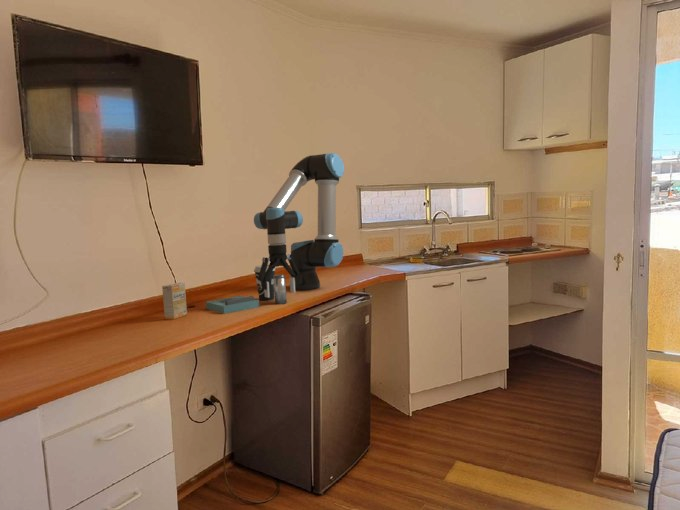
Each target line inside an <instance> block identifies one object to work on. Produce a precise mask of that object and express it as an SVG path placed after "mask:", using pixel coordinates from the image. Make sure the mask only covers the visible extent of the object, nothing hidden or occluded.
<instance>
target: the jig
mask: <svg viewBox="0 0 680 510" xmlns="http://www.w3.org/2000/svg"><path fill="white" fill-rule="evenodd" d="M205 308H206V310H209V311H213V312H217V313H219V314H231V313H236V312H242V311H245V310H251V309H252V310H253V309H256V308H260V300H259V299H257V298H255V296H253V295H251V296H243V295H238V296H232V297H225V298H220V299H213V300H208V301H205Z"/></svg>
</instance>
